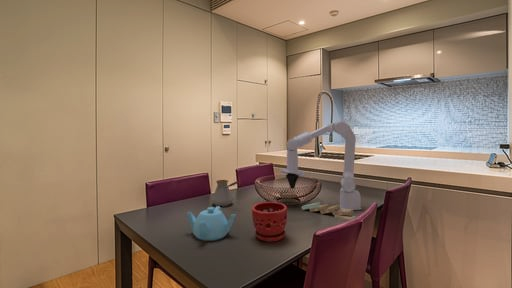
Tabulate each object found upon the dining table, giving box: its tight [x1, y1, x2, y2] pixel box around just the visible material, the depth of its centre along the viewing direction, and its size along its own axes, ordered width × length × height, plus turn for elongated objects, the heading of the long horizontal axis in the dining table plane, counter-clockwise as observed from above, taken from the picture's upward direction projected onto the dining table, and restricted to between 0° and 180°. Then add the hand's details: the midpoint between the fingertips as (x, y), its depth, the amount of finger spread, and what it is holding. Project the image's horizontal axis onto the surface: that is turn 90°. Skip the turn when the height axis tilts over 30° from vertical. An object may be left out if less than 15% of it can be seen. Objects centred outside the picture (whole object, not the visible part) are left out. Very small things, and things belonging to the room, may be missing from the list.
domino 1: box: [309, 203, 330, 213], centre depth 137 cm, size 2×5×8 cm
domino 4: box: [334, 214, 357, 222], centre depth 128 cm, size 2×5×8 cm
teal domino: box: [301, 201, 322, 211], centre depth 140 cm, size 2×5×8 cm
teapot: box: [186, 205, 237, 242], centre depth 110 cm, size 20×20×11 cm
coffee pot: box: [211, 179, 242, 208], centre depth 148 cm, size 21×12×15 cm, turn 39°
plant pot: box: [251, 201, 288, 243], centre depth 107 cm, size 13×13×12 cm
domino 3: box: [332, 208, 354, 216], centre depth 130 cm, size 2×5×8 cm
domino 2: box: [319, 204, 340, 215], centre depth 134 cm, size 2×5×8 cm
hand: (292, 188), depth 147 cm, fingers closed
